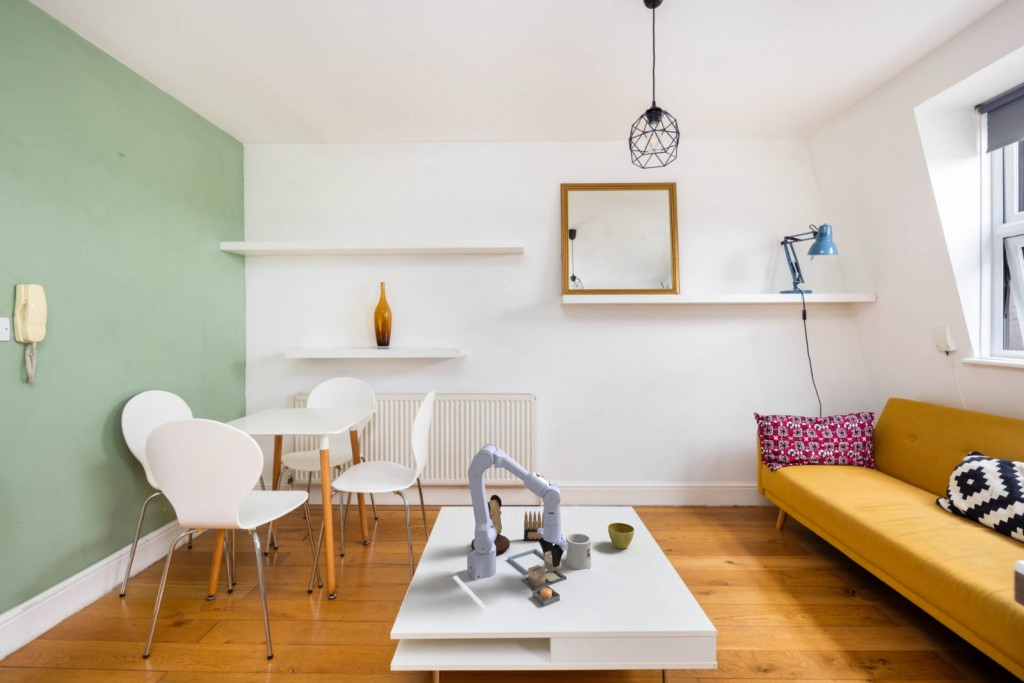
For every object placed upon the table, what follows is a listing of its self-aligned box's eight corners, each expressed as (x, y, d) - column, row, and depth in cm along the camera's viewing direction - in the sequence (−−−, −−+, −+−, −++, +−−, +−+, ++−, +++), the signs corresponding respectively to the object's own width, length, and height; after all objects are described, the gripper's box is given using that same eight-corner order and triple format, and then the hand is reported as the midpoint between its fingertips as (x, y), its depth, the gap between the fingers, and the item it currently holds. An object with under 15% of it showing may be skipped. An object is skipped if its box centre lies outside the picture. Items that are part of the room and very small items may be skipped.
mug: (591, 574, 159) (591, 545, 159) (564, 571, 161) (564, 542, 160) (592, 556, 171) (592, 530, 171) (567, 554, 173) (567, 528, 172)
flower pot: (632, 540, 184) (632, 522, 184) (636, 552, 174) (636, 533, 174) (606, 539, 185) (606, 521, 185) (609, 551, 175) (609, 532, 175)
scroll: (493, 562, 167) (493, 507, 167) (463, 550, 176) (463, 498, 176) (517, 547, 179) (517, 495, 179) (488, 537, 188) (488, 488, 187)
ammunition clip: (523, 542, 183) (523, 512, 183) (523, 540, 185) (523, 510, 185) (550, 542, 183) (550, 512, 183) (550, 540, 185) (550, 510, 185)
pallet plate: (535, 596, 145) (535, 590, 145) (519, 583, 153) (519, 577, 153) (569, 583, 153) (569, 578, 153) (553, 571, 160) (553, 566, 160)
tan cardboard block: (551, 571, 152) (551, 557, 152) (544, 566, 155) (544, 552, 155) (561, 567, 154) (561, 554, 154) (554, 562, 157) (554, 549, 157)
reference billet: (535, 587, 148) (535, 573, 148) (528, 581, 152) (528, 567, 152) (545, 583, 150) (545, 569, 150) (538, 578, 154) (538, 564, 154)
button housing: (543, 610, 138) (543, 601, 138) (532, 600, 143) (532, 591, 143) (559, 604, 141) (559, 594, 141) (548, 594, 146) (548, 585, 146)
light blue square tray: (526, 578, 156) (526, 571, 156) (508, 562, 166) (508, 556, 166) (555, 568, 163) (555, 562, 163) (535, 554, 173) (535, 548, 173)
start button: (544, 604, 139) (544, 595, 139) (537, 598, 142) (537, 589, 142) (554, 600, 141) (554, 592, 141) (547, 594, 144) (547, 586, 144)
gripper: (575, 527, 150) (575, 569, 150) (548, 513, 162) (548, 551, 163) (558, 532, 146) (558, 575, 147) (532, 517, 159) (532, 556, 159)
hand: (552, 563), depth 154 cm, fingers closed on tan cardboard block, 4 cm apart
